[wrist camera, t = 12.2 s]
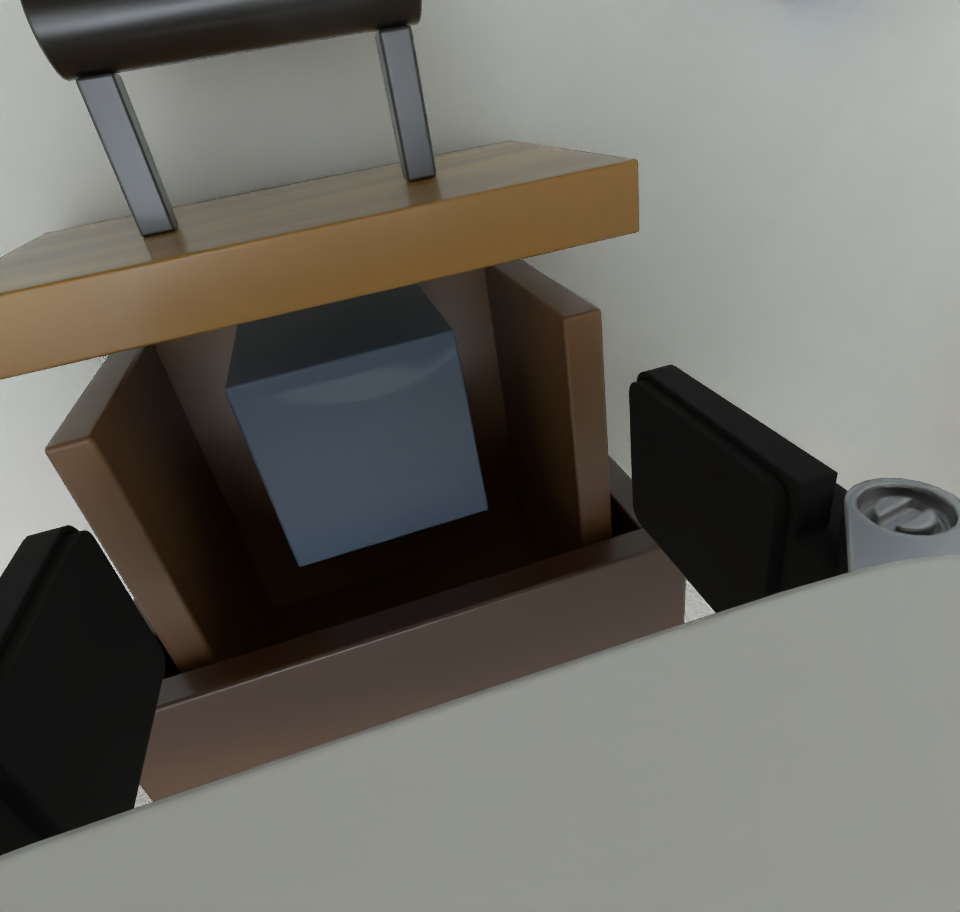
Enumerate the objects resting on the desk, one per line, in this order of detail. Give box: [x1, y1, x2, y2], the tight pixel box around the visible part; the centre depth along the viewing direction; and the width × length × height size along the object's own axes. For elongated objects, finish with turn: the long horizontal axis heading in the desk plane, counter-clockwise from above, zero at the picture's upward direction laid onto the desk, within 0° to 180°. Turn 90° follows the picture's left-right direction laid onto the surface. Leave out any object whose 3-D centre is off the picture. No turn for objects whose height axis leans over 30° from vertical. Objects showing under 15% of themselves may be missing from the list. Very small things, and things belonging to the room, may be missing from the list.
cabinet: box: [134, 455, 686, 802], centre depth 20 cm, size 14×13×9 cm
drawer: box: [0, 0, 639, 674], centre depth 15 cm, size 16×11×7 cm
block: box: [225, 283, 488, 567], centre depth 15 cm, size 4×4×4 cm
